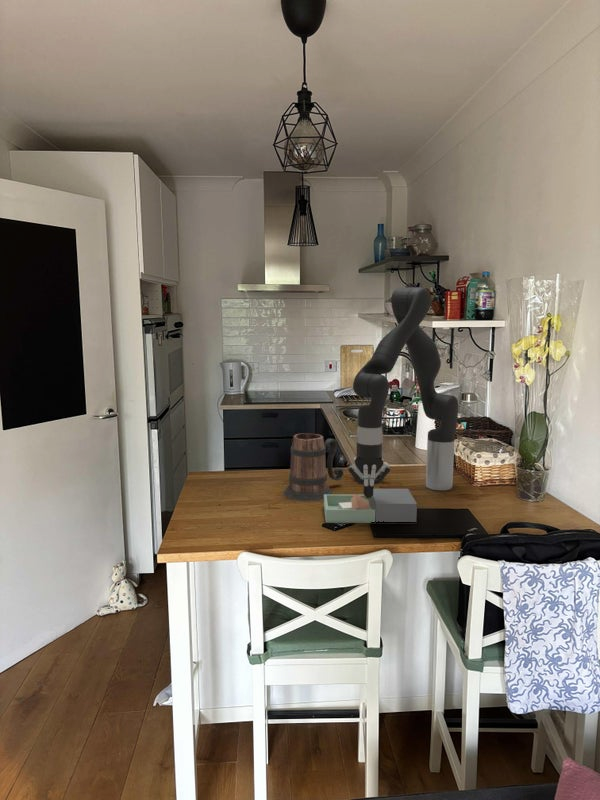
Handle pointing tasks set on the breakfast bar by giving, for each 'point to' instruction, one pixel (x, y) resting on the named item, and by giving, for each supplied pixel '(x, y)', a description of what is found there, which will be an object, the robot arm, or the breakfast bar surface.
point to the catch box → (346, 510)
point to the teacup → (368, 474)
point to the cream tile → (345, 505)
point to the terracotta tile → (359, 502)
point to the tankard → (311, 467)
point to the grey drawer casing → (393, 505)
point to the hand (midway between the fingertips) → (368, 497)
